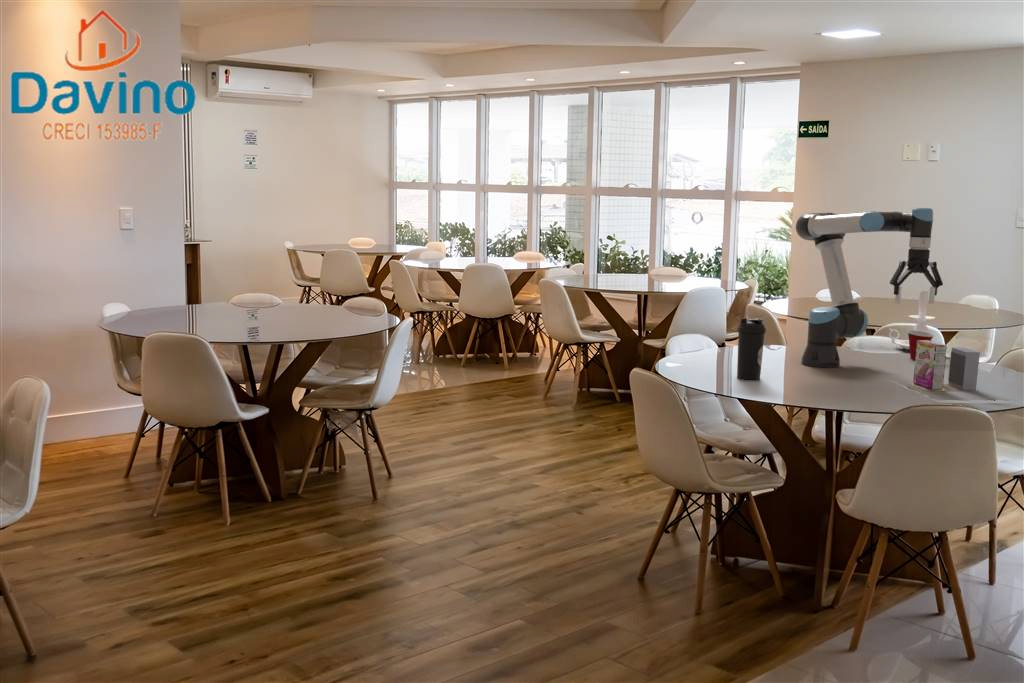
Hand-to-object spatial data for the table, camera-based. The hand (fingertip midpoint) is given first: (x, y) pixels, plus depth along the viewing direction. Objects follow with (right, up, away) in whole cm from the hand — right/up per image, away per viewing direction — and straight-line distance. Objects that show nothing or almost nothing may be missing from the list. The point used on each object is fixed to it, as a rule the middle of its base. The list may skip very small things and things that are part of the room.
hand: (914, 303), depth 384 cm
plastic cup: (+20, -23, +44) cm, 53 cm away
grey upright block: (+10, -31, -19) cm, 38 cm away
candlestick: (+28, -19, +70) cm, 78 cm away
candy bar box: (-4, -31, -21) cm, 38 cm away
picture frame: (+2, -32, -20) cm, 38 cm away
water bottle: (-66, -29, -8) cm, 72 cm away
